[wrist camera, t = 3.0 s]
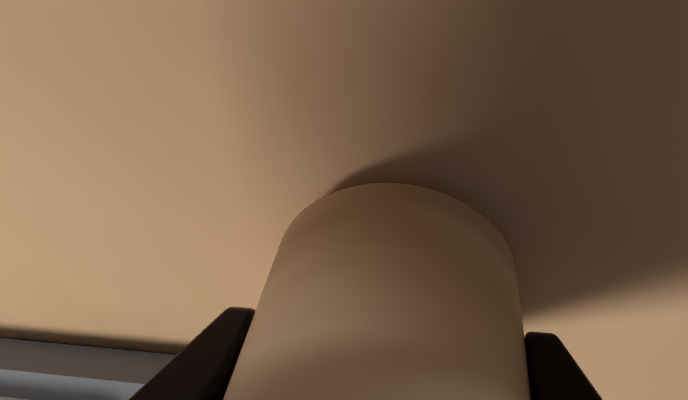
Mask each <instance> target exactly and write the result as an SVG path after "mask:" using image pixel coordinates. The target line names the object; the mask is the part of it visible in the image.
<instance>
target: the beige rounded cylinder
mask: <svg viewBox="0 0 688 400" xmlns="http://www.w3.org/2000/svg"><path fill="white" fill-rule="evenodd" d="M223 400H531V392H530V384H529V375H528V366H527V357H526V349H525V340H524V331H523V323H522V314H521V305H520V296H519V288H518V279H517V270H516V265H515V261H514V258H513V254H512V252H511V250H510V248H509V246H508V244H507V242H506V241H505V239H504V238H503V236H502V235H501V233H500V232H499V231H498V230H497V228H496V227H495V226H494V225H493V224H492V223H491V222H490V221H489V220H488V219H487V218H485V217H484V216H483V215H482V214H481V213H479V212H478V211H477V210H475V209H474V208H472V207H471V206H469V205H467V204H466V203H464V202H463V201H461V200H458V199H456V198H454V197H452V196H450V195H448V194H445V193H442V192H439V191H436V190H433V189H430V188H426V187H421V186H417V185H412V184H402V183H371V184H362V185H357V186H353V187H348V188H344V189H341V190H339V191H336V192H333V193H330V194H328V195H326V196H324V197H322V198H321V199H319V200H317V201H315V202H314V203H312V204H311V205H310V206H308V207H307V208H305V209H304V210H303V211H302V212H301V213H300V214H299V215H298V216H297V217H296V218H295V219H294V220H293V222H292V223H291V224H290V226H289V227H288V228H287V230H286V232H285V234H284V236H283V238H282V241H281V243H280V246H279V249H278V252H277V254H276V257H275V260H274V262H273V265H272V268H271V271H270V273H269V276H268V279H267V281H266V284H265V287H264V290H263V292H262V295H261V298H260V301H259V303H258V306H257V309H256V311H255V314H254V317H253V320H252V322H251V325H250V328H249V330H248V333H247V336H246V339H245V341H244V344H243V347H242V349H241V352H240V355H239V358H238V360H237V363H236V366H235V368H234V371H233V374H232V377H231V379H230V382H229V385H228V388H227V390H226V393H225V396H224V398H223Z"/></svg>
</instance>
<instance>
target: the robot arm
mask: <svg viewBox="0 0 688 400" xmlns="http://www.w3.org/2000/svg"><path fill="white" fill-rule="evenodd" d="M254 314H255V310H254V309H251V308H242V307H230V308H228V309H226V310H225V311H224V312H223V313H221V314H220V315H219V316H218V317H217V318H216V319H215V320H214V321H213V322H212V323H211V324H210V325H208V326H207V327H206V328H205V329H204V330H203V331H202V332H201V333H200V334H199V335H198V336H196V337H195V338H194V339H193V340H192V341H191V342H190V343H189V344H188V345H187V346H186V347H185V348H183V349H182V350H181V351H180V352H179V353H178V354H177V355H176V356H175V357H174V358H173V359H172V360H170V361H169V362H168V363H167V364H166V365H165V366H164V367H163V368H162V369H161V370H160V371H159V372H157V373H156V374H155V375H154V376H153V377H152V378H151V379H150V380H149V381H148V382H147V383H146V384H144V385H143V386H142V387H141V388H140V389H139V390H138V391H137V392H136V393H135V394H134V395H132V396H131V397H130V398H129V399H128V400H223V398H224V396H225V393H226V390H227V388H228V385H229V382H230V379H231V377H232V374H233V371H234V368H235V366H236V363H237V360H238V358H239V355H240V352H241V349H242V347H243V344H244V341H245V339H246V336H247V333H248V330H249V328H250V325H251V322H252V320H253V317H254ZM524 340H525V349H526V357H527V366H528V375H529V384H530V392H531V400H602V398H601V397H600V395H599V394H598V393H597V391H596V390H595V388H594V387H593V386H592V384H591V383H590V381H589V380H588V379H587V377H586V376H585V374H584V373H583V371H582V370H581V369H580V367H579V366H578V364H577V363H576V362H575V360H574V359H573V357H572V356H571V355H570V353H569V352H568V350H567V349H566V348H565V346H564V345H563V343H562V342H561V341H560V339H559V338H558V337H557V336H556V335H554V334H552V333H541V332H528V333H527V334H526V335H525V338H524Z"/></svg>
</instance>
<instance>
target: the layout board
mask: <svg viewBox="0 0 688 400" xmlns="http://www.w3.org/2000/svg"><path fill="white" fill-rule="evenodd" d="M175 356H176V355H172V354H161V353H151V352H141V351H130V350H120V349H110V348H99V347H89V346H79V345H69V344H58V343H48V342H38V341H27V340H17V339H7V338H0V400H128V399H129V398H130V397H131V396H132V395H134V394H135V393H136V392H137V391H138V390H139V389H140V388H141V387H142V386H143V385H144V384H146V383H147V382H148V381H149V380H150V379H151V378H152V377H153V376H154V375H155V374H156V373H157V372H159V371H160V370H161V369H162V368H163V367H164V366H165V365H166V364H167V363H168V362H169V361H170V360H172V359H173V358H174V357H175Z"/></svg>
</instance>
